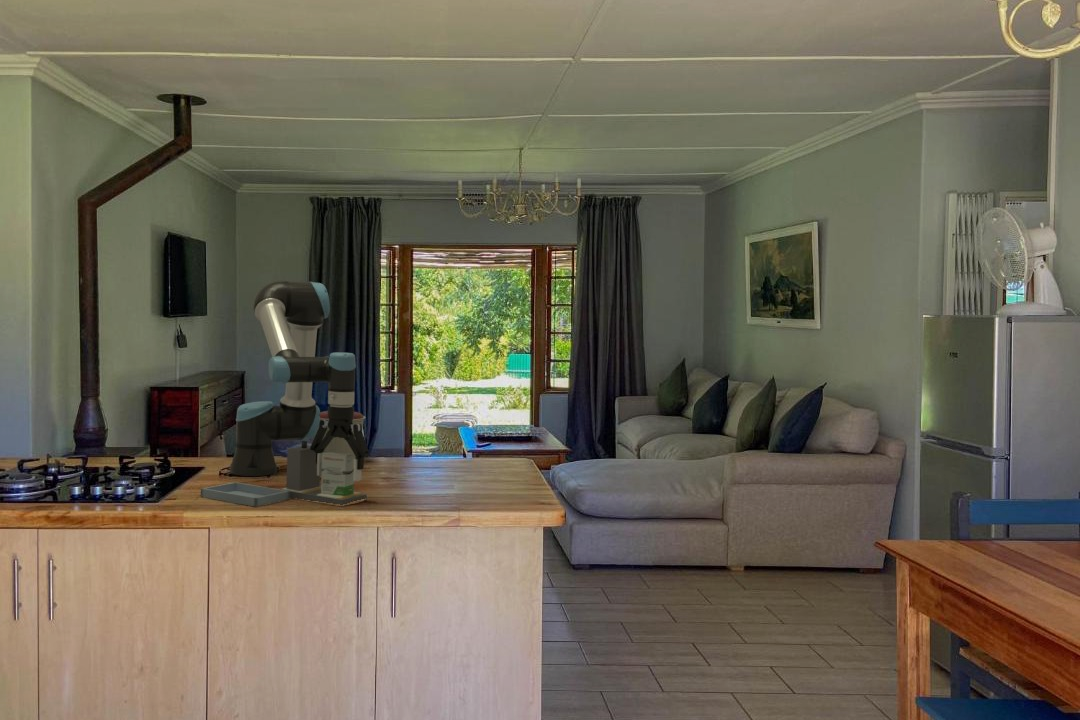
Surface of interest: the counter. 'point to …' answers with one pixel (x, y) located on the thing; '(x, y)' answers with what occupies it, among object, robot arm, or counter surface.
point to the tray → (245, 494)
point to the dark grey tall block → (302, 468)
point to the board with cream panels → (325, 496)
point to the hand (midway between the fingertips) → (338, 477)
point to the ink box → (337, 473)
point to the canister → (340, 443)
